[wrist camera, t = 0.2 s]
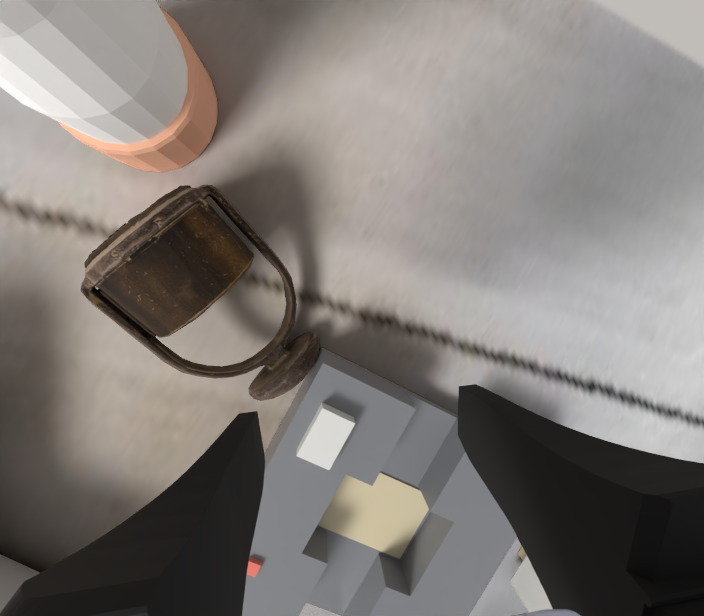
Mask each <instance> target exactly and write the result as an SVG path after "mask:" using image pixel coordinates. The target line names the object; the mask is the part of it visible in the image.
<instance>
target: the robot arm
mask: <svg viewBox="0 0 704 616" xmlns="http://www.w3.org/2000/svg"><path fill="white" fill-rule="evenodd" d="M458 437H459V439H460V441H461V443H462V446H463V448H464V450H465V452H466V454H467V456H468V458H469V460H470V462H471V463H472V465H473V466H474V468H475V470H476V471H477V473H478V474H479V476H480V477H481V479H482V480H483V482H484V484H485V485H486V487H487V488H488V490H489V491H490V493H491V494H492V496H493V497H494V499H495V501H496V502H497V504H498V505H499V507H500V508H501V510H502V511H503V513H504V514H505V516H506V518H507V519H508V521H509V523H510V524H511V526H512V528H513V530H514V531H515V533H516V535H517V537H518V539H519V541H520V543H521V545H522V547H523V549H524V551H525V553H526V555H527V557H528V558H529V560H530V562H531V564H532V567H533V569H534V571H535V573H536V575H537V577H538V579H539V581H540V583H541V585H542V587H543V589H544V591H545V593H546V595H547V597H548V599H549V602H550V604H551V606H552V608H553V609H544V610H539V611H534V612H529V613H524V614H519V615H513V616H704V464H703V463H697V462H691V461H685V460H680V459H675V458H670V457H666V456H661V455H657V454H652V453H648V452H644V451H640V450H636V449H632V448H628V447H625V446H622V445H618V444H615V443H611V442H608V441H604V440H601V439H598V438H595V437H592V436H589V435H586V434H584V433H581V432H578V431H576V430H573V429H570V428H567V427H565V426H562V425H560V424H557V423H555V422H553V421H551V420H548V419H546V418H544V417H541V416H539V415H537V414H535V413H533V412H531V411H529V410H527V409H524V408H522V407H520V406H518V405H516V404H514V403H512V402H510V401H508V400H506V399H504V398H503V397H501V396H499V395H497V394H495V393H493V392H491V391H489V390H487V389H485V388H482V387H480V386H478V385H467V386H459V402H458ZM264 472H265V456H264V450H263V444H262V438H261V432H260V426H259V420H258V413H257V411H256V412H248V413H240V414H238V415H237V417H236V418H235V419H234V420H233V421H232V422H231V423H230V425H229V426H228V427H227V428H226V429H225V430H224V432H223V433H222V434H221V435H220V436H219V437H218V438H217V440H216V441H215V442H214V443H213V444H212V445H211V446H210V447H209V449H208V450H207V451H206V452H205V453H204V454H203V455H202V456H201V457H200V458H199V459H198V460H197V461H196V462H195V463H194V464H193V465H192V466H191V467H190V468H189V469H188V470H187V471H186V472H185V473H184V474H183V475H182V476H181V477H180V478H179V479H178V480H176V481H175V482H174V483H173V484H172V485H171V486H170V487H168V488H167V489H166V490H165V491H164V492H162V493H161V494H160V495H159V496H158V497H156V498H155V499H154V500H153V501H151V502H150V503H149V504H147V505H146V506H145V507H143V508H142V509H141V510H139V511H138V512H137V513H135V514H134V515H133V516H131V517H130V518H129V519H127V520H126V521H124V522H123V523H122V524H120V525H119V526H117V527H116V528H114V529H113V530H111V531H110V532H108V533H107V534H105V535H104V536H102V537H100V538H99V539H97V540H96V541H94V542H93V543H91V544H89V545H88V546H86V547H85V548H83V549H81V550H80V551H78V552H76V553H75V554H73V555H71V556H69V557H68V558H66V559H64V560H62V561H60V562H59V563H57V564H55V565H53V566H52V567H50V568H48V569H46V570H44V571H43V572H41V573H39V574H37V575H36V576H34V577H32V578H30V579H28V580H26V581H24V582H23V583H22V585H21V586H20V587H19V588H18V590H17V591H16V592H15V594H14V595H13V596H12V598H11V599H10V601H9V602H8V603H7V605H6V606H5V607H4V609H3V610H2V611H1V613H0V616H242V611H243V602H244V593H245V584H246V575H247V568H248V562H249V556H250V551H251V547H252V542H253V537H254V532H255V527H256V522H257V517H258V513H259V508H260V503H261V498H262V492H263V484H264Z"/></svg>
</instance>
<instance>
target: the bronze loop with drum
mask: <svg viewBox="0 0 704 616" xmlns="http://www.w3.org/2000/svg"><path fill="white" fill-rule="evenodd" d="M208 196H210V197H211V198H212V199H213V200H214V201H215V202H216V203H217V204H218V206H219V207H220V208H221V209H222V210H223V211H224V212H225V213H226V215H227V216H228V217H229V218H230V219H231V220H232V221H233V223H234V224H235V225H236V226H237V227H238V228H239V229H240V230H241V232H242V233H243V234H244V235H245V236H246V237H247V238H248V239H249V240H250V241H251V242H252V243H253V244H254V245H255V246H256V247H257V249H258V250H259V251H260V252H261V253H262V254H263V255H264V256H265V258H266V259H267V260H268V261H269V262H270V263H271V264H272V265H273V266H274V267H275V268H276V269H277V270H278V272H279V274H280V275H281V277H282V280H283V282H284V290H285V297H286V309H285V316H284V319H283V322H282V325H281V328H280V329H279V331H278V332H277V334H276V336H275V337H274V339H273V340H272V341H271V342H270V343H269V344H268V345H267V346H266V347H265V348H263V349H262V350H261V351H260V352H258V353H257V354H256V355H254V356H253V357H251V358H249V359H247V360H245V361H243V362H241V363H237V364H233V365H229V366H223V367H220V366H206V365H202V364H197V363H193V362H190V361H188V360H185V359H183V358H181V357H180V356H178V355H177V354H176V353H174V352H173V351H172V350H170V349H169V348H168V347H166V346H165V345H164V344H162V343H161V342H160V341H159V340H158V339H157V338H156V337H155V336H158V337H166V336H169V335H171V334H173V333H174V332H176V331H178V330H180V329H181V328H183V327H184V326H186V325H187V324H189V323H190V322H192V321H194V320H195V319H196V318H198V317H199V316H200V315H201V314H203V313H204V312H205V311H206V310H207V309H208V308H209V307H210V306H211V305H212V304H213V303H214V302H215V301H217V300H218V299H219V298H220V297H221V296H223V295H224V294H225V293H226V292H227V291H228V290H229V289H230V288H231V287H232V286H233V285H234V284H235V283H236V282H237V281H238V280H239V279H240V278H241V277H242V275H243V274H244V273H245V272H246V271H247V270H248V269H249V268H250V266H251V264H252V261H253V258H254V255H253V253H252V252H251V251H250V250H249V249H248V247H247V246H246V245H245V244H244V243H243V242H242V241H241V239H240V238H239V237H238V236H237V235H236V234H235V233H234V232H233V231H232V230H231V228H230V227H229V226H228V225H227V224H226V223H225V222H224V221H223V220H222V218H221V217H220V216H219V215H218V214H217V213H216V212H215V211H214V209H213V208H212V207H211V206H210V205H209V204H208V203H207V201H206V200H205V199H206V198H207V197H208ZM85 268H86V269H85V278H84V280H83V282H82V286H81V292H82V293H83V294H84V295H85V296H86V298H87V299H88V300H89V301H90V302H91V303H92V304H93V305H94V306H95V307H97V308H98V309H99V310H101V311H102V312H103V313H104V314H106V315H107V316H108V317H110V318H111V319H112V320H113V321H115V322H116V323H117V324H118V325H119V326H121V327H122V328H123V329H124V330H125V331H126V332H128V333H129V334H130V335H131V336H133V337H134V338H135V339H136V340H138V341H139V342H140V343H141V344H143V345H144V346H145V347H146V348H148V349H149V350H150V351H151V352H153V353H154V354H155V355H156V356H157V357H159V358H160V359H161V360H162V361H164V362H165V363H167V364H169V365H170V366H172V367H174V368H175V369H177V370H179V371H181V372H183V373H187V374H191V375H195V376H201V377H209V378H227V377H234V376H238V375H241V374H245V373H247V372H249V371H252V370H254V369H256V368H258V367H260V366H263V365H265V367H264V368H263V369H262V370H261V371H260V372H259V374H258V375H257V376H256V378H255V379H254V380H253V382H252V383H251V385H250V387H249V394H250V395H251V396H252V397H253V398H254V399H257V400H260V401H262V400H267V399H272V398H275V397H277V396H280V395H282V394H284V393H286V392H287V391H289V390H291V389H292V388H294V387H295V386H296V385H297V384H298V383H299V382H301V381H302V380H303V379H304V378H305V376H306V375H307V374H308V372H309V371H310V370H311V368H312V366H313V364H314V361H315V359H316V356H317V354H318V350H319V342H320V341H319V338H318V336H317V335H316V334H315V333H314V332H308V333H306V334H304V335H302V336H299V337H298V338H297V339H295V340H294V341H292V342H291V343H290V344H288V345H287V346H286V347H284V344H285V342H286V341H287V339H288V337H289V335H290V332H291V330H292V327H293V325H294V322H295V315H296V306H297V304H296V296H295V291H294V287H293V282H292V278H291V276H290V274H289V272H288V270H287V269H286V268H285V266H284V265H283V263H282V262H281V261H280V259H279V258H278V257H277V255H276V254H275V253H274V252H273V251H272V250H271V248H270V247H269V246H268V245H267V244H266V243H265V242H264V241H263V239H262V238H261V237H260V236H259V235H258V234H257V233H256V231H255V230H254V229H253V228H252V227H251V226H250V225H249V224H248V222H247V221H246V220H245V219H244V218H243V217H242V216H241V214H240V213H239V212H238V211H237V210H236V209H235V208H234V206H233V205H232V204H231V203H230V202H229V201H228V200H227V198H226V197H225V196H224V195H223V194H222V193H221V192H220V191H219V190H218V189H216V188H215V187H213V186H212V185H202V186H200V187H198V188H191V187H190V186H188V185H187V186H179V187H178V188H177V189H175V190H173V191H171V192H170V193H168V194H166V195H164V196H163V197H161V198H160V199H158V200H157V201H156V202H155V203H154V204H152V205H151V206H150V207H149V208H147V209H146V210H145V211H143V212H142V213H140V214H138V215H137V216H135V217H133V218H132V219H130V220H129V221H128V223H127V224H124V225H123V226H122V227H120V228H119V229H118V230H117V231H116V232H115V233H114V234H112V235H110V236H109V238H108V239H107V240H105V241H104V242H103V243H102V244H101V245H100V246H99V247H98V248H97V249H96V250H94V251H92V253H91V254H90V255H89V257H88V259H87V260H86V261H85ZM95 286H96V287H98V288H99V289H98V290H97V289H96V288H95Z"/></svg>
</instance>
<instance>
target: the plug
mask: <svg viewBox="0 0 704 616" xmlns="http://www.w3.org/2000/svg"><path fill="white" fill-rule="evenodd" d="M518 554H519V556H520V557H521V559H522V560H523V562H522V564H521V565H520V567H519V568H518V570H517V572H516V573H515V575H514V576H513V578H512V580H511V581H510V583H511V584H512V586H513V588H514V589H515V591H516V593H517V594H518V596H519V598H520V599H521V601H522V603H523V604H524V606H525V608H526V609H527V611H528V613H529V612H534V611H539V610H544V609H553V608H552V606H551V604H550V602H549V599H548V597H547V595H546V593H545V591H544V589H543V587H542V585H541V583H540V581H539V579H538V577H537V575H536V573H535V571H534V569H533V567H532V564H531V562H530V560H529V558H528V557H527V555H526V553H525V551H524V549H523V547H521V549H520V551H519V552H518Z"/></svg>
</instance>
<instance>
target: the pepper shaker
mask: <svg viewBox="0 0 704 616" xmlns="http://www.w3.org/2000/svg"><path fill="white" fill-rule="evenodd" d="M0 87H1V88H3V89H4V90H5V91H7V92H8V93H9V94H11V95H12V96H13V97H14V98H16V99H17V100H18V101H20V102H21V103H22V104H24V105H26V106H28V107H30V108H32V109H34V110H36V111H38V112H41V113H43V114H45V115H47V116H49V117H51V118H53V119H55V120H57V121H58V122H59V123H60V125H61V126H62V127H63V128H65V129H66V130H67V131H68V132H70V133H71V134H72V135H73V136H75V137H76V138H77V139H78V140H80V141H81V142H82V143H84V144H86V145H88V146H90V147H92V148H94V149H96V150H98V151H100V152H102V153H104V154H106V155H108V156H110V157H112V158H114V159H116V160H118V161H120V162H122V163H125V164H127V165H130V166H132V167H134V168H137V169H139V170H145V171H156V172H164V171H169V170H173V169H177V168H182V167H183V166H185V165H186V164H188V163H190V162H191V161H193V160H194V159H196V158H198V157H199V156H200V154H201V153H202V152H203V150H204V149H205V148H206V147H207V145H208V144H209V143H210V142H211V139H212V136H213V133H214V130H215V127H216V124H217V109H218V101H217V97H216V94H215V90H214V87H213V83H212V80H211V78H210V76H209V75H208V73H207V71H206V69H205V68H204V66H203V64H202V63H201V61H200V59H199V57H198V56H197V54H196V52H195V51H194V49H193V47H192V45H191V44H190V42H189V41H188V39H187V38H186V36H185V34H184V33H183V31H182V30H181V28H180V26H179V25H178V23H177V22H176V21H175V20H174V19H173V18H172V17H171V16H170V15H168V14H167V13H166V12H165V11H164V10H163V9H162V8H161V7H159V6H158V4H157V2H156V0H0Z"/></svg>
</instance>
